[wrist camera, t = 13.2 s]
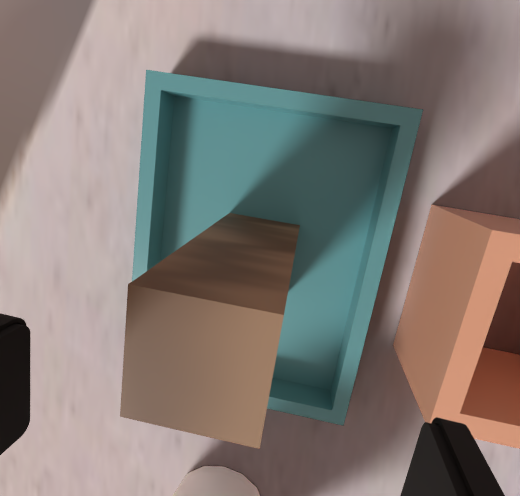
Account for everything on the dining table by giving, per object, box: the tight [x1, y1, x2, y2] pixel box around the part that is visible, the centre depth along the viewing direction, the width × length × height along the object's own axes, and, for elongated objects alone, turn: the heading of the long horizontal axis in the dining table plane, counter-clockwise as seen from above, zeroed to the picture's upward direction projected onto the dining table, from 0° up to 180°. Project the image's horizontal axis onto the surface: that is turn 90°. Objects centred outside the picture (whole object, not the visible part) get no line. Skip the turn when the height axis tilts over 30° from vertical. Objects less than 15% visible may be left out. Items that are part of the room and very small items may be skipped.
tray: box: [132, 70, 423, 426], centre depth 21 cm, size 13×17×2 cm
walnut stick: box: [120, 213, 300, 449], centre depth 16 cm, size 4×4×12 cm
